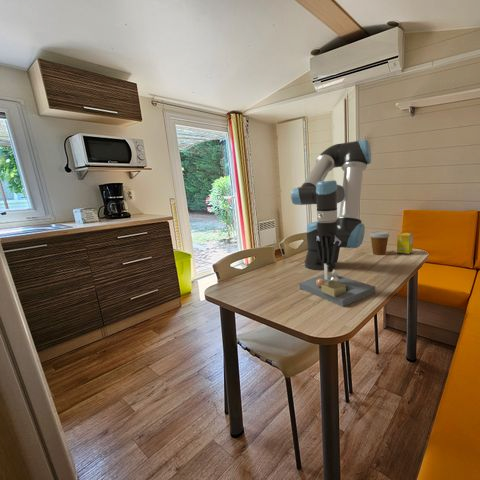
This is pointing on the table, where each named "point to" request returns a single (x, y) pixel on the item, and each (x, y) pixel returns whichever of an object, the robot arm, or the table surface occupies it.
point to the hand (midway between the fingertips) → (328, 278)
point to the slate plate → (353, 293)
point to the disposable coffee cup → (379, 242)
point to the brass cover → (333, 288)
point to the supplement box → (404, 243)
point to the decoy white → (334, 273)
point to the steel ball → (334, 278)
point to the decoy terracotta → (320, 282)
